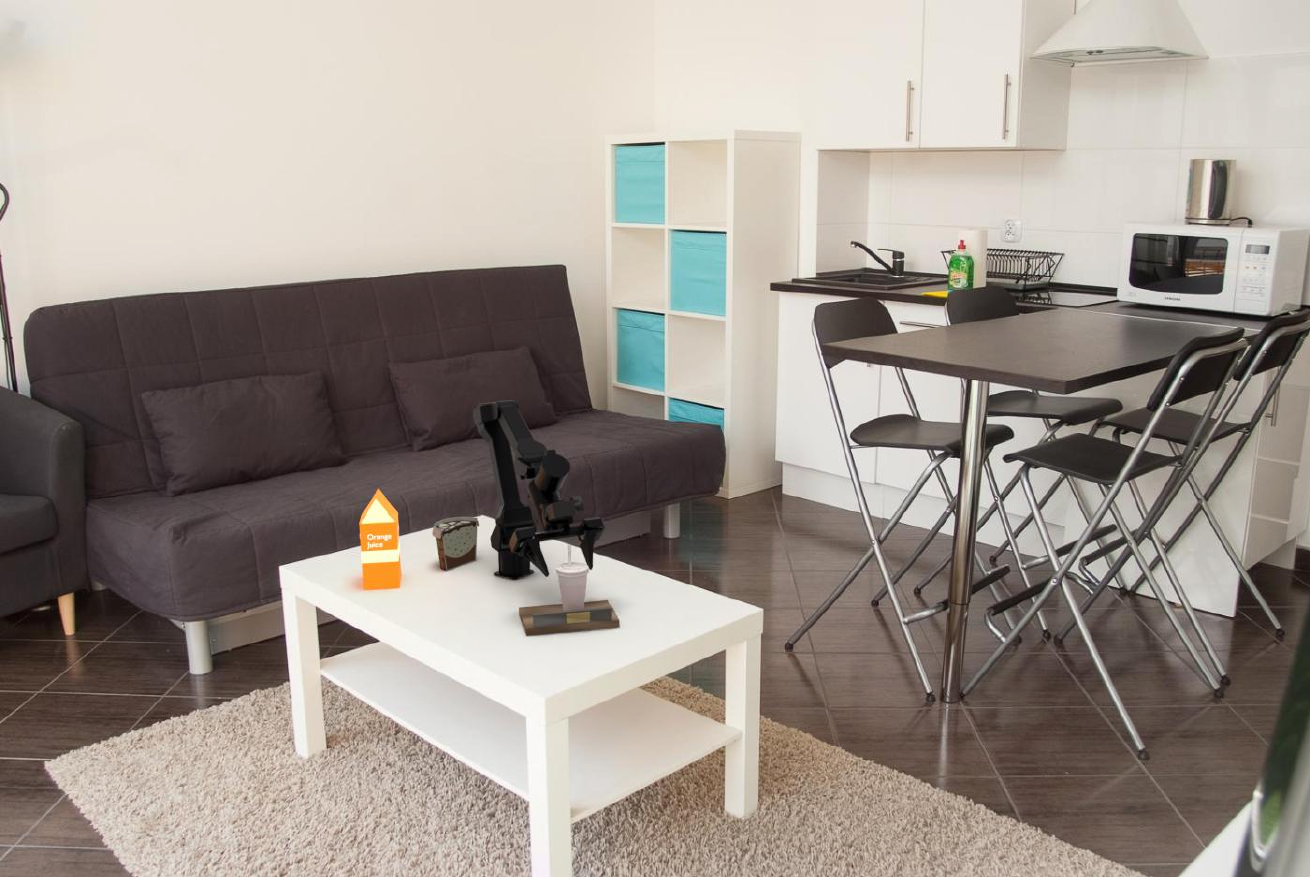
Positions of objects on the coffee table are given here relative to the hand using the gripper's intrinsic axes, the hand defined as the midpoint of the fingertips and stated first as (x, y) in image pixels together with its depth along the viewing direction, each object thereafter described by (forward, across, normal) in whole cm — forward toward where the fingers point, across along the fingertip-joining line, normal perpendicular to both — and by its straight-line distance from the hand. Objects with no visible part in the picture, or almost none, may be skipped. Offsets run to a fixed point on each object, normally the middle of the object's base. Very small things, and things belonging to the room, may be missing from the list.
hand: (569, 572), depth 228 cm
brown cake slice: (-25, -10, +40) cm, 48 cm away
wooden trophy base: (+7, -1, +6) cm, 10 cm away
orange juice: (-21, -27, +36) cm, 50 cm away
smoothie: (+7, 0, +5) cm, 8 cm away
